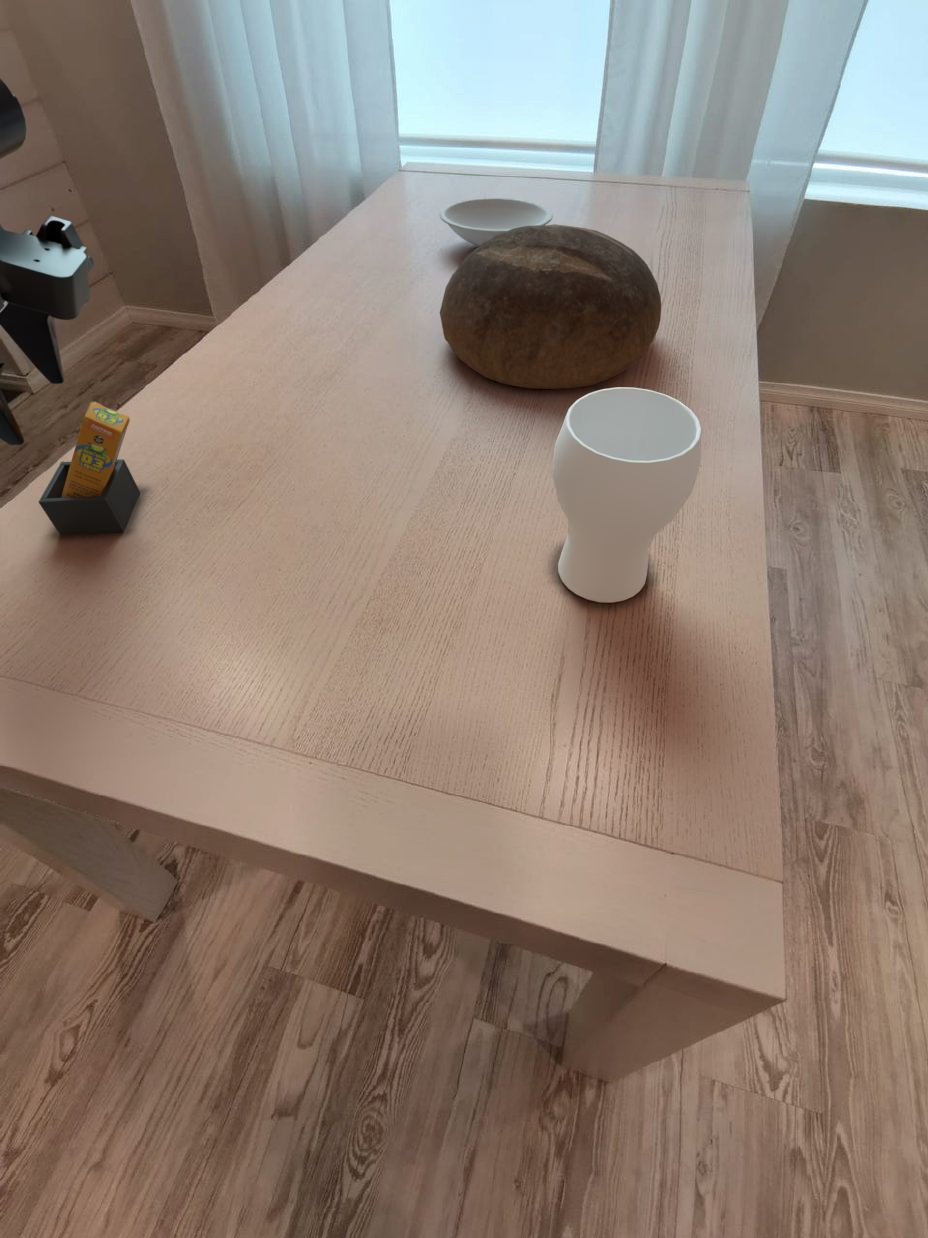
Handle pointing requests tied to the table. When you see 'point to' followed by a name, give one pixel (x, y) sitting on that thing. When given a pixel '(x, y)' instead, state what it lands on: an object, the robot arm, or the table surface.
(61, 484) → the trash bin
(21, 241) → the robot arm
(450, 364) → the table surface
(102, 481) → the supplement box
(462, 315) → the bread
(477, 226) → the dish
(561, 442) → the cup
